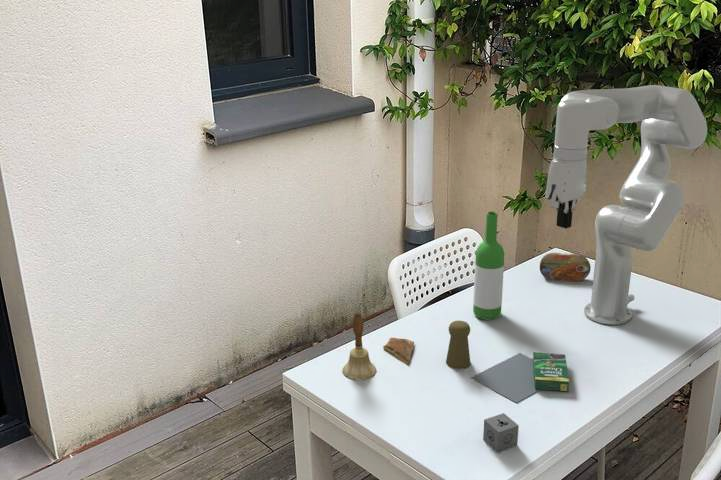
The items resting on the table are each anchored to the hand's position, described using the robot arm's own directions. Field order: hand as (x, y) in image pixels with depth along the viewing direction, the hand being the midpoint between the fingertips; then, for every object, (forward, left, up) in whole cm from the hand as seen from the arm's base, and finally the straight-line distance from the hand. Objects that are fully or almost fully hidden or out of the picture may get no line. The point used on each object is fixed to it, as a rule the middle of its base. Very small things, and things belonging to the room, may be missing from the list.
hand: (563, 226), depth 185 cm
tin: (-35, -23, -32) cm, 53 cm away
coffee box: (+9, +6, -30) cm, 32 cm away
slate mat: (+20, +5, -32) cm, 38 cm away
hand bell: (+47, -22, -32) cm, 61 cm away
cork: (+26, -9, -32) cm, 42 cm away
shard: (+32, -22, -33) cm, 51 cm away
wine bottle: (+1, -22, -32) cm, 39 cm away
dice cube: (+43, +19, -32) cm, 57 cm away
